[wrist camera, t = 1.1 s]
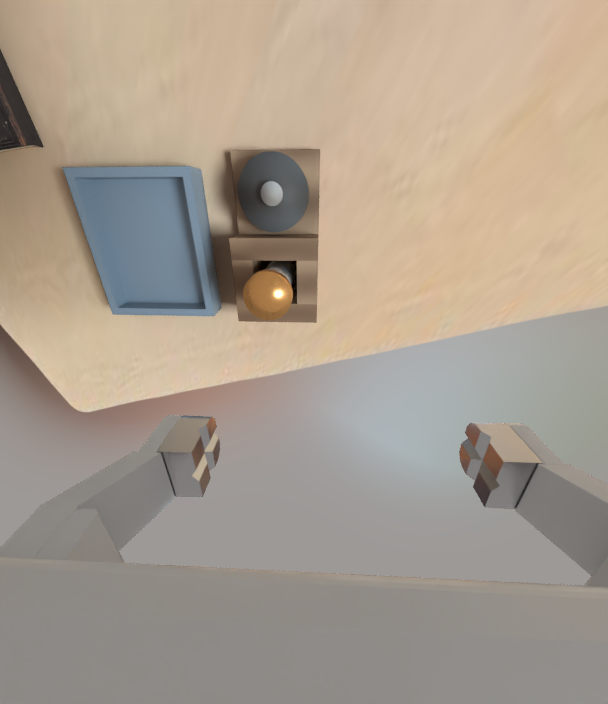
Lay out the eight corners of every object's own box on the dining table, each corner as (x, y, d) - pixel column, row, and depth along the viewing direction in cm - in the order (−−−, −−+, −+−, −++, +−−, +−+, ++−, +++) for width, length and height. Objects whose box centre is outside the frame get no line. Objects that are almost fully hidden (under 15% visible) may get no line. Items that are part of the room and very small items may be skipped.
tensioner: (233, 152, 34) (217, 143, 29) (319, 151, 33) (319, 141, 28) (248, 306, 43) (238, 321, 38) (316, 307, 42) (316, 322, 37)
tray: (84, 170, 36) (62, 167, 32) (201, 169, 35) (189, 166, 32) (127, 306, 44) (112, 314, 41) (221, 307, 43) (213, 316, 40)
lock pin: (261, 253, 39) (240, 272, 29) (299, 253, 39) (291, 272, 28) (264, 289, 42) (245, 319, 31) (299, 290, 41) (292, 320, 31)
